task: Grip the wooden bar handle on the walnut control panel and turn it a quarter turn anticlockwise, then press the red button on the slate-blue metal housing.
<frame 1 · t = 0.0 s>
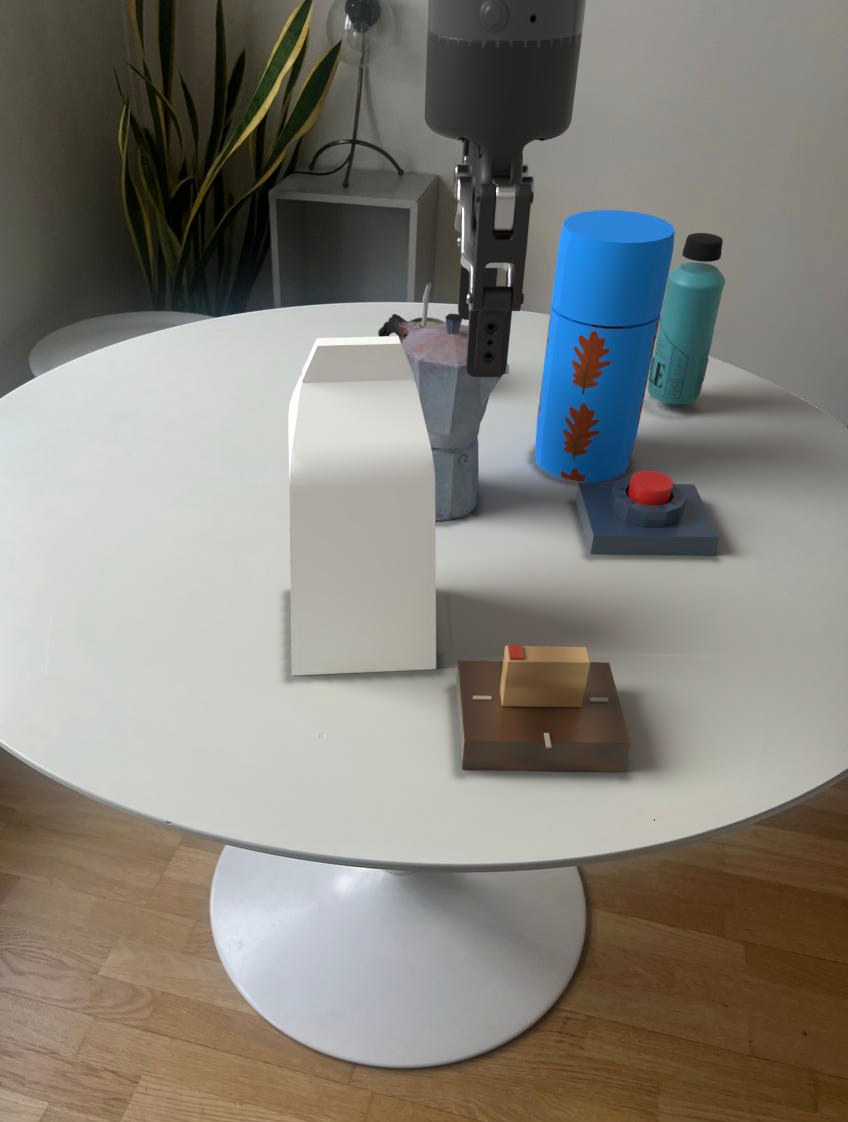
hand: (479, 344, 57), 30 cm above the table, tool pointing down, fingers open, 8 cm apart
moka pot: (431, 500, 101), on the table
button: (650, 488, 94), point 4 cm above the table, slide at 0.1 cm
mate gourd: (425, 389, 122), on the table
beverage bottle: (669, 406, 119), on the table
milk: (359, 630, 84), on the table
button box: (642, 527, 97), on the table
thermos: (580, 460, 108), on the table
panel: (535, 728, 75), on the table
handle: (544, 675, 71), point 5 cm above the table, hinge at 0.0°
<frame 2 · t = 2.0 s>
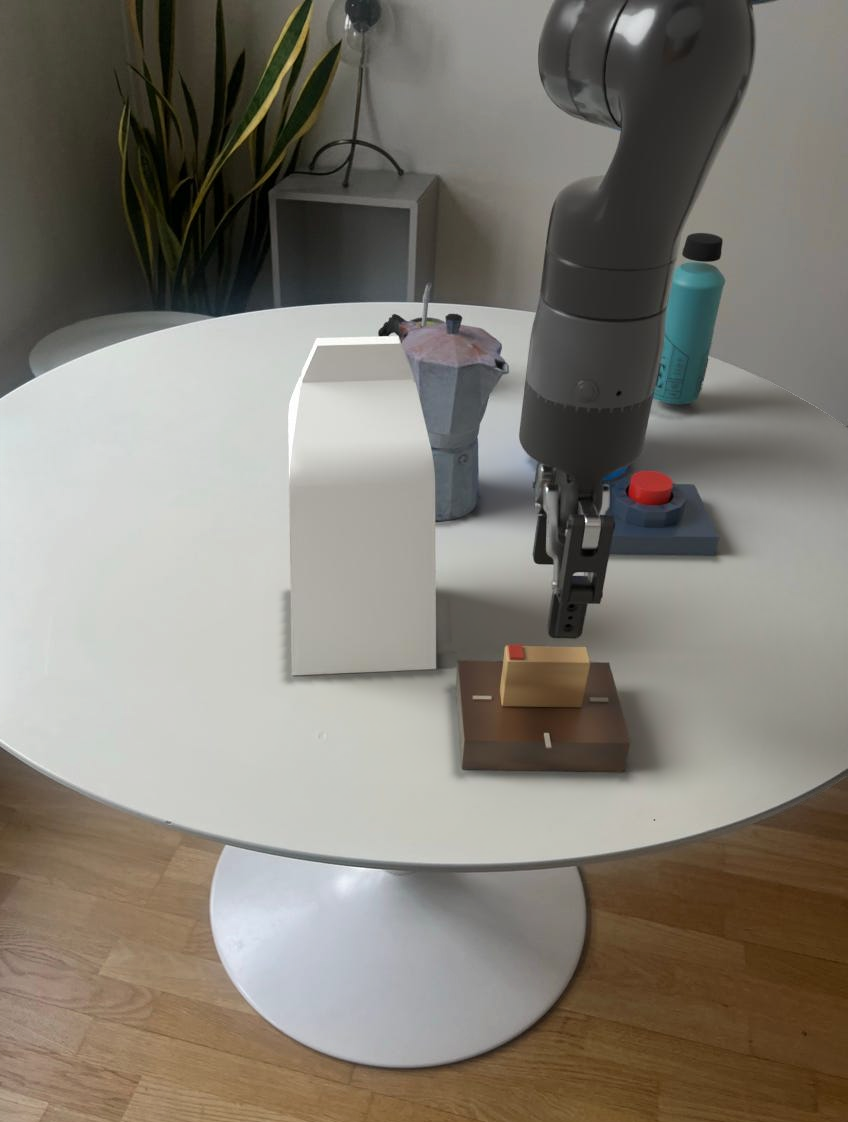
hand: (555, 596, 67), 13 cm above the table, tool pointing down, fingers open, 8 cm apart
nothing on the table moved.
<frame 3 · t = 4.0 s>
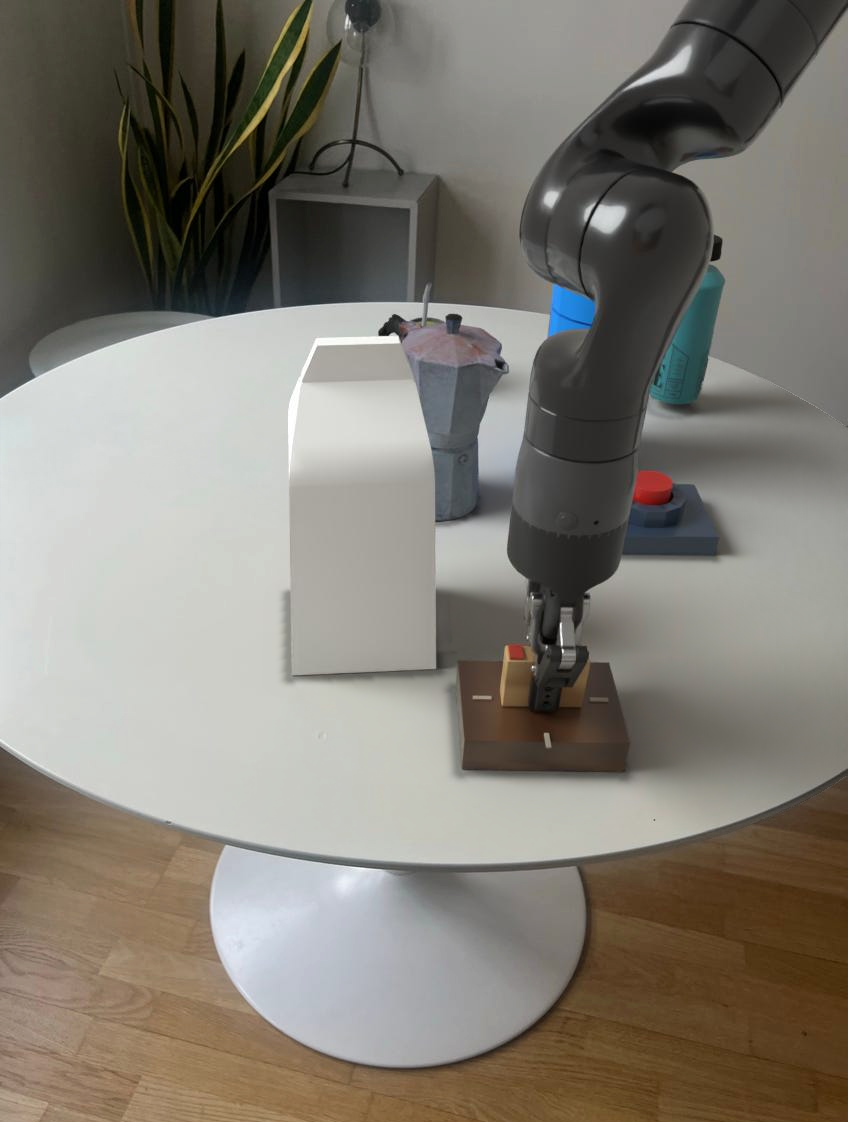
hand: (540, 697, 73), 3 cm above the table, tool pointing down, fingers closed on handle, 2 cm apart
handle: (544, 675, 71), point 5 cm above the table, hinge at 0.0°, touching gripper
everything else where it was.
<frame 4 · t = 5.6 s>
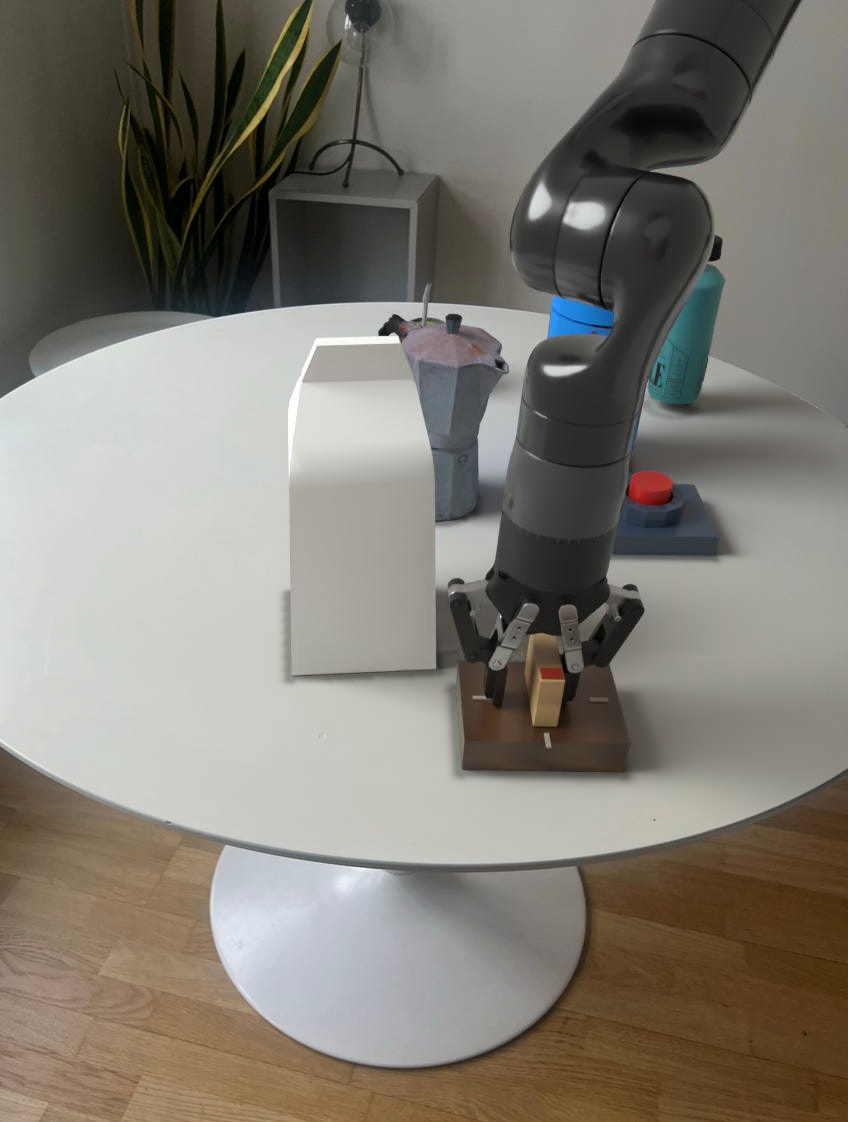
hand: (526, 698, 73), 3 cm above the table, tool pointing down, fingers open, 4 cm apart
handle: (544, 675, 71), point 5 cm above the table, hinge at 89.9°
everything else where it was.
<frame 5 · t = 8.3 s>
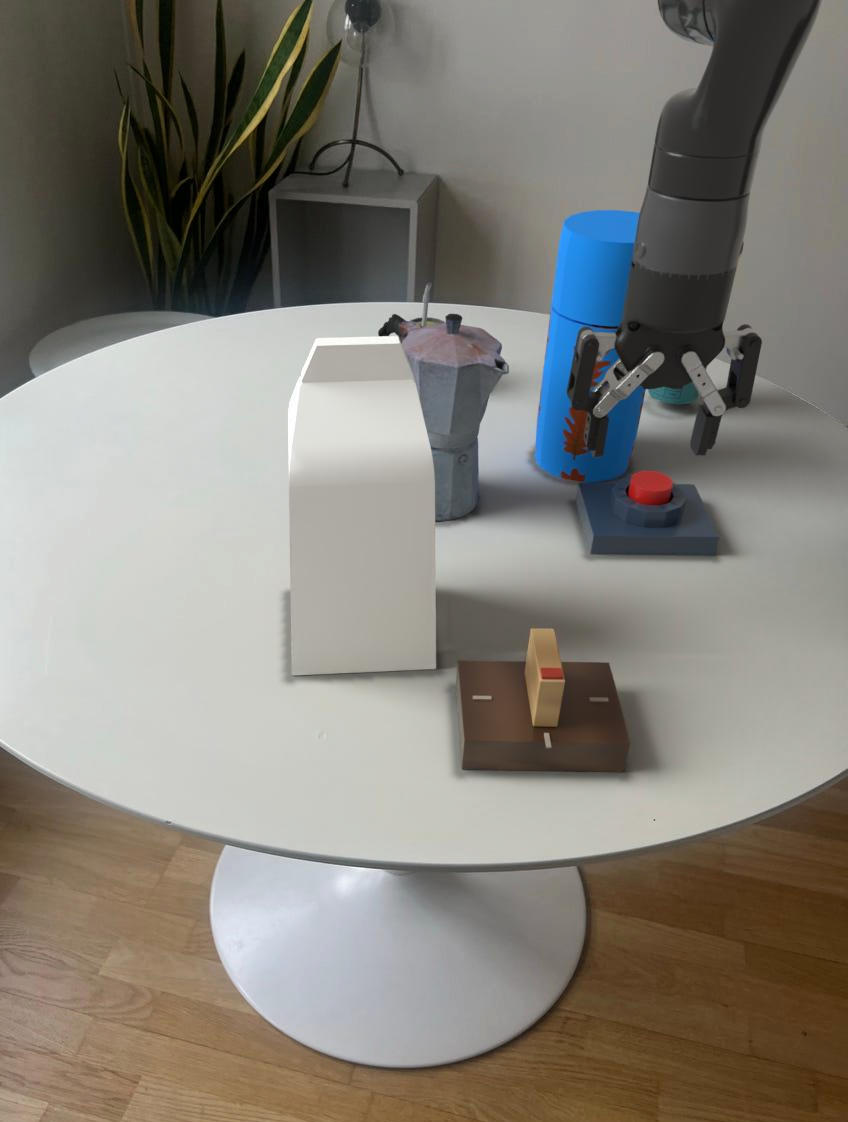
hand: (646, 452, 81), 14 cm above the table, tool pointing down, fingers open, 8 cm apart
nothing on the table moved.
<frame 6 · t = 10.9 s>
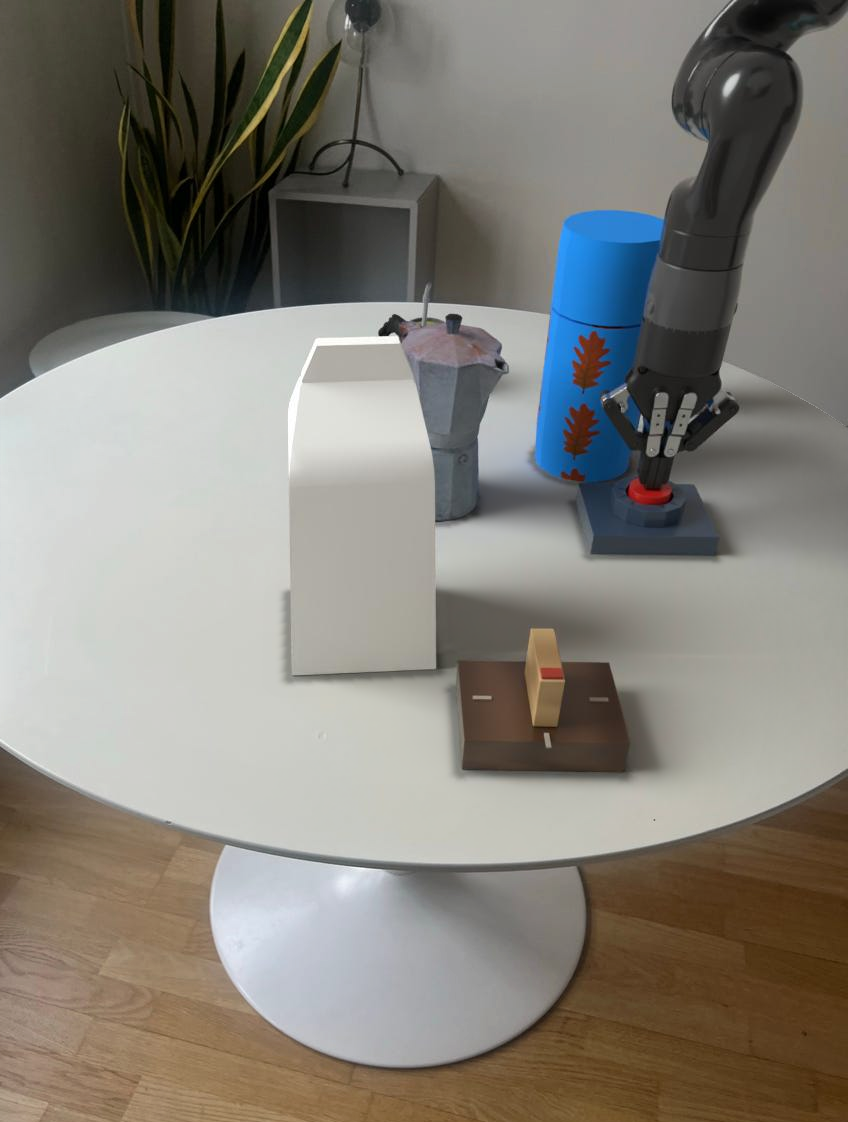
hand: (650, 485, 94), 5 cm above the table, tool pointing down, fingers closed
button: (649, 494, 95), point 4 cm above the table, slide at -0.6 cm, touching gripper
everything else where it was.
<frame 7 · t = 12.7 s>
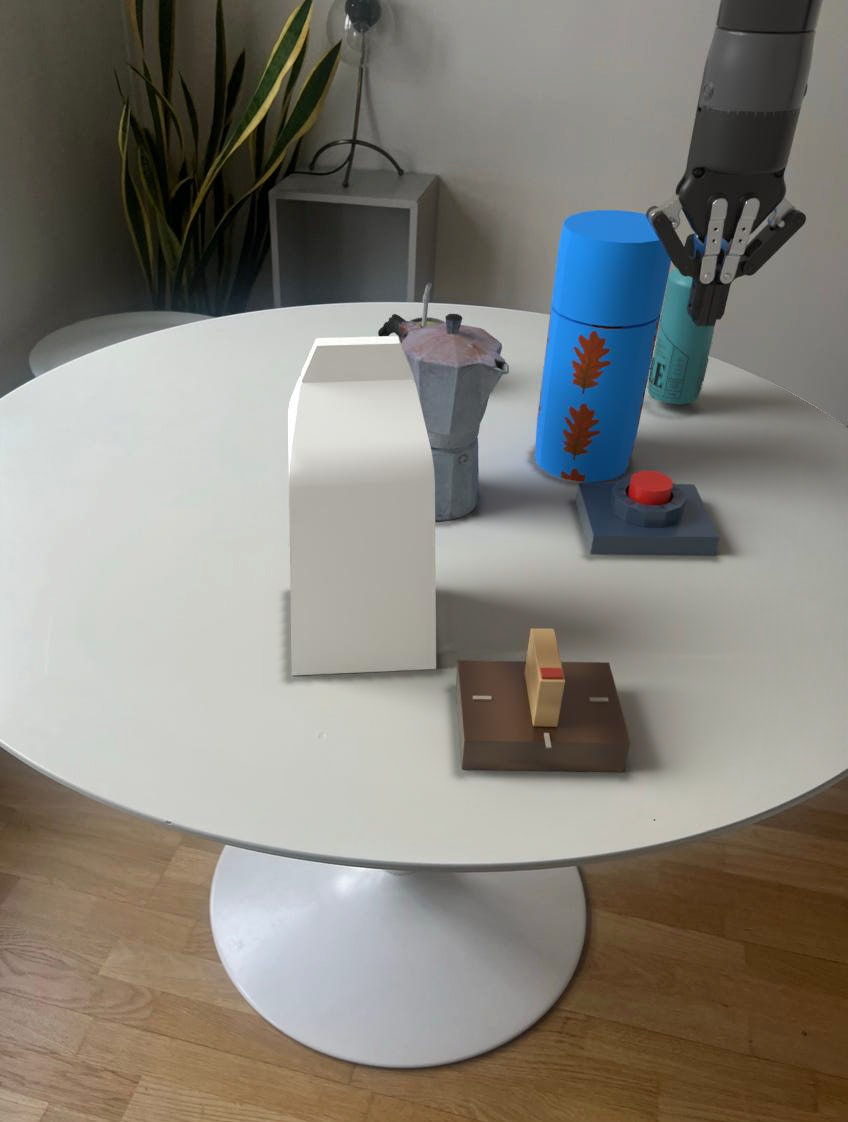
hand: (702, 323, 84), 21 cm above the table, tool pointing down, fingers closed
button: (650, 488, 94), point 4 cm above the table, slide at 0.1 cm
everything else where it was.
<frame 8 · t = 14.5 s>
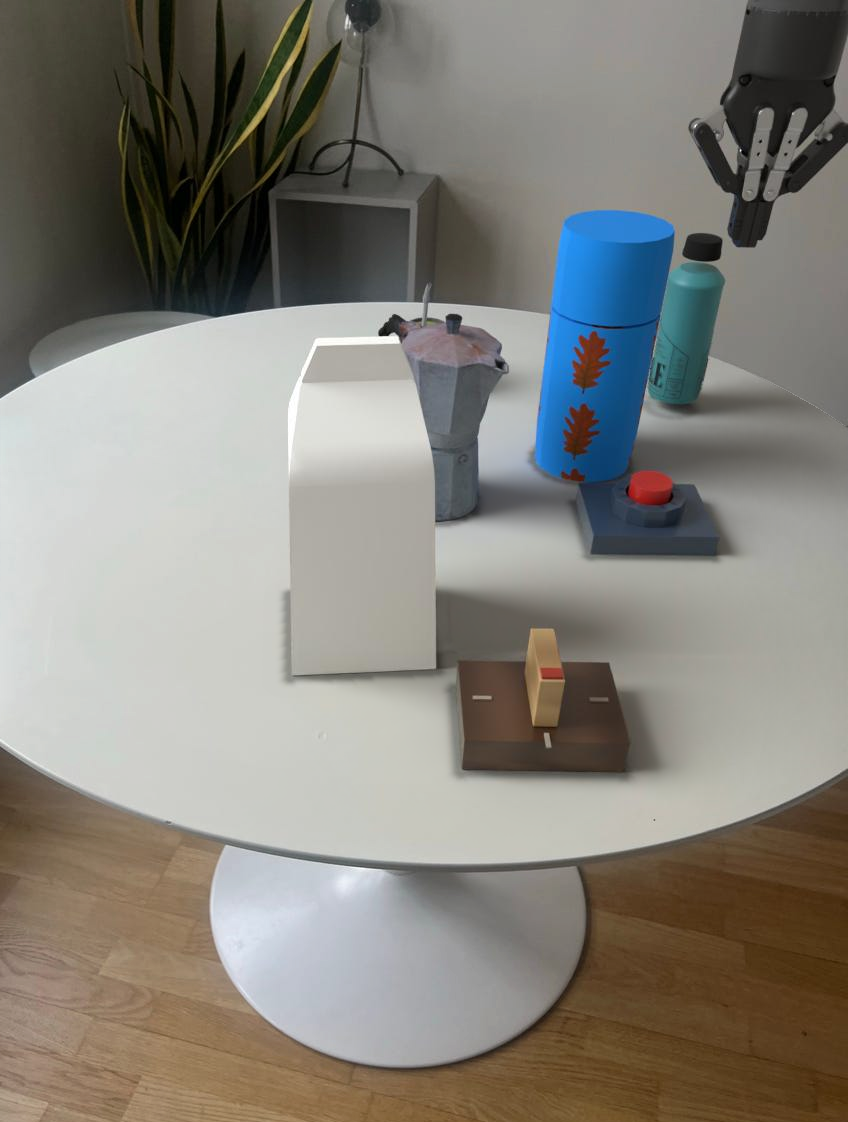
hand: (742, 244, 81), 27 cm above the table, tool pointing down, fingers closed
nothing on the table moved.
at the end: handle at +90° (first picture: +0°); button pushed in 1.2 cm at the most during the clip, back to where it started at the end; button slide at 0.1 cm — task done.
